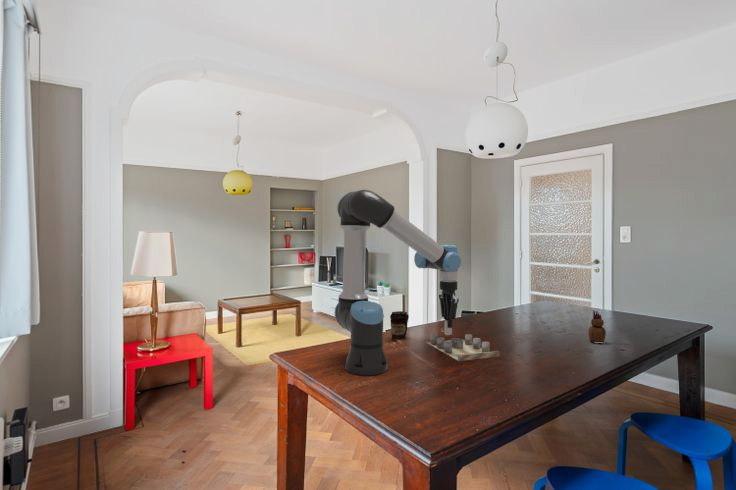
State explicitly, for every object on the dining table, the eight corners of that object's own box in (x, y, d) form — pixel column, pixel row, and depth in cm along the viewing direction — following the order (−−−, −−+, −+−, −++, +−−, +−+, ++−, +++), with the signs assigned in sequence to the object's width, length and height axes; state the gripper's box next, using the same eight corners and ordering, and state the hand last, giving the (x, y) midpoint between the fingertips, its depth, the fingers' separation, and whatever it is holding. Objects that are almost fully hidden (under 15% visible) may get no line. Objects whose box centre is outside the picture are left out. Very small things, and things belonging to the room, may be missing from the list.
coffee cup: (407, 344, 177) (407, 314, 177) (388, 342, 179) (388, 313, 179) (409, 338, 186) (409, 310, 185) (391, 337, 188) (391, 310, 187)
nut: (453, 349, 165) (454, 341, 165) (447, 346, 170) (447, 338, 170) (466, 348, 167) (466, 340, 167) (459, 344, 172) (459, 337, 171)
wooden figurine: (590, 344, 180) (591, 310, 180) (586, 340, 186) (587, 308, 185) (607, 345, 178) (608, 311, 178) (602, 341, 184) (603, 309, 184)
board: (458, 365, 150) (459, 350, 150) (426, 345, 175) (426, 333, 175) (499, 360, 156) (499, 346, 156) (462, 342, 181) (462, 330, 181)
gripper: (464, 282, 169) (464, 337, 170) (448, 278, 182) (448, 330, 183) (448, 282, 167) (448, 339, 168) (433, 279, 179) (433, 331, 180)
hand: (448, 334), depth 175 cm, fingers closed
